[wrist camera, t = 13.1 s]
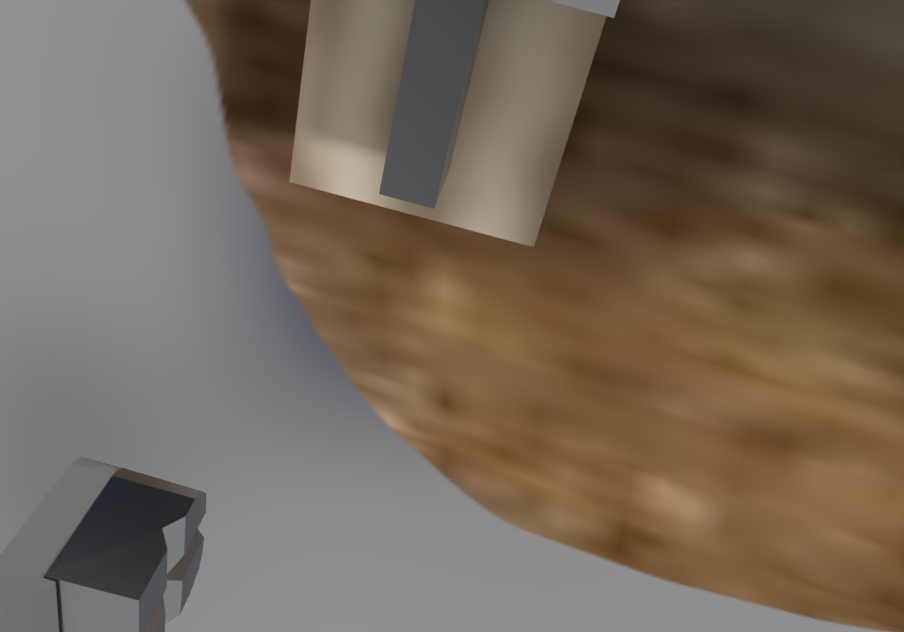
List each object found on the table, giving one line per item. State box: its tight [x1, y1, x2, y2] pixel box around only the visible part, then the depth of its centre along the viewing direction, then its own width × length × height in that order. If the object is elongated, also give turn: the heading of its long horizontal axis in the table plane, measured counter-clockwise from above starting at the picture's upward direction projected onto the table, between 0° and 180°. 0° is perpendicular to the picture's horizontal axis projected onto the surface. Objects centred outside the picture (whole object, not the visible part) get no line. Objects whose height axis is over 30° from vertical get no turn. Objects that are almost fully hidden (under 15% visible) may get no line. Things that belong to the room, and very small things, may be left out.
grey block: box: [379, 0, 620, 209], centre depth 34 cm, size 12×10×4 cm
